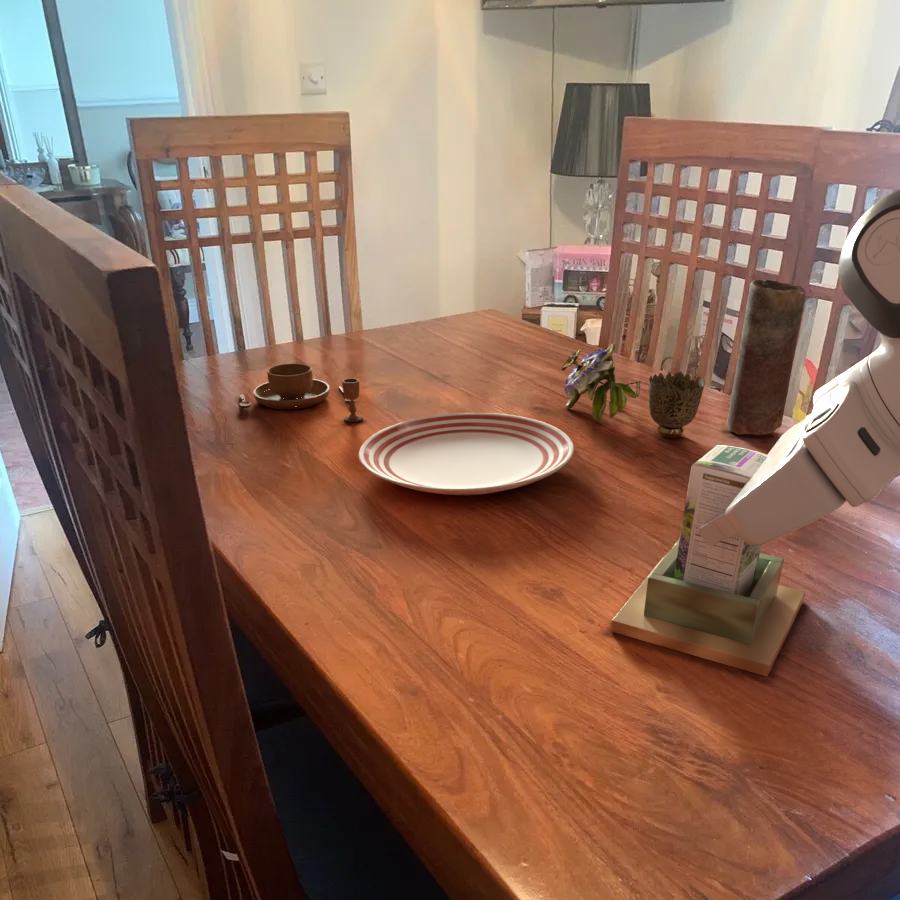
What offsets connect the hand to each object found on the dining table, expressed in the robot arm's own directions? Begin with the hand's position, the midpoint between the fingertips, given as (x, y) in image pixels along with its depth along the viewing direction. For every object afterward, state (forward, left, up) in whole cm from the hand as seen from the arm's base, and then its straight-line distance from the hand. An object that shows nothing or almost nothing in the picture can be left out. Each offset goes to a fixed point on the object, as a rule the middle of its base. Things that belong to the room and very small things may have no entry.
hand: (721, 514), depth 75 cm
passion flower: (+44, -38, -11) cm, 59 cm away
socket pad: (-1, 0, -10) cm, 10 cm away
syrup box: (0, 0, -9) cm, 9 cm away
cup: (+30, -37, -11) cm, 49 cm away
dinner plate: (+41, -8, -11) cm, 44 cm away
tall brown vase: (+23, -47, -11) cm, 54 cm away
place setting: (+77, -6, -11) cm, 78 cm away
